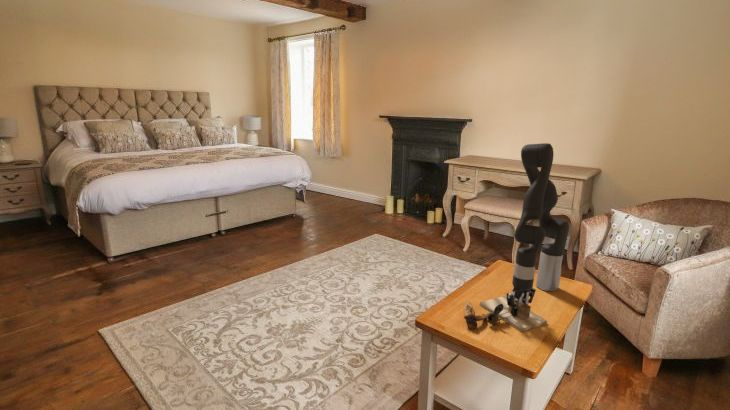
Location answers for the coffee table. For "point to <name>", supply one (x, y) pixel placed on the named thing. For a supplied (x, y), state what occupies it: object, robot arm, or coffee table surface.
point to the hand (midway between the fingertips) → (518, 314)
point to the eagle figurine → (496, 314)
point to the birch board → (513, 321)
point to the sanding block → (522, 310)
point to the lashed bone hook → (471, 315)
